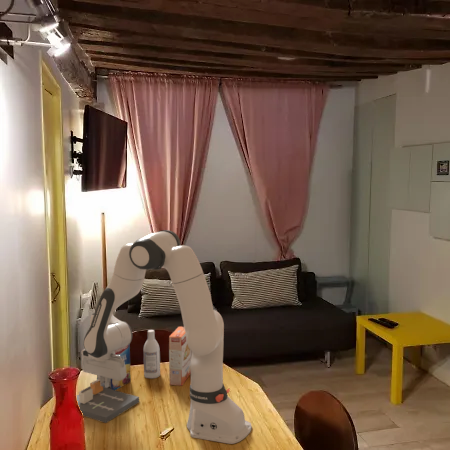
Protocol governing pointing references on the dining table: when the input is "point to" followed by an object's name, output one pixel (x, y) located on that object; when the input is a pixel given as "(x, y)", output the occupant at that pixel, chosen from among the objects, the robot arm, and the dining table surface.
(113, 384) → the juice carton
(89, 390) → the ivory knob
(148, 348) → the bath foam
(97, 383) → the orange knob
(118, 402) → the console board
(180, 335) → the cracker box
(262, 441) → the dining table surface
